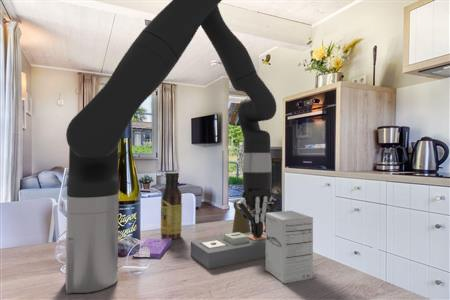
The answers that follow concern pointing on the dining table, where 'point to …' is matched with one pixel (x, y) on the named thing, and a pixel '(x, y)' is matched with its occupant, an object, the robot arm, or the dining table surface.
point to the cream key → (213, 244)
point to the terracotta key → (256, 237)
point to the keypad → (227, 252)
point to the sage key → (235, 238)
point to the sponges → (157, 246)
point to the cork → (240, 221)
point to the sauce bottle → (171, 207)
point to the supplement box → (289, 246)
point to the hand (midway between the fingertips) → (257, 236)
